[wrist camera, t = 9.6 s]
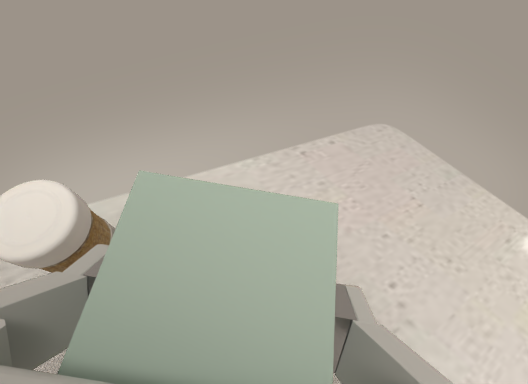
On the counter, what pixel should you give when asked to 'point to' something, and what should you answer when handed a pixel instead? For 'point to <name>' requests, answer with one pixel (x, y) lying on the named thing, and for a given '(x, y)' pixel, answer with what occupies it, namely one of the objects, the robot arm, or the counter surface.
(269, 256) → the sage block
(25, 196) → the sprinkles bottle
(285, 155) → the counter surface
